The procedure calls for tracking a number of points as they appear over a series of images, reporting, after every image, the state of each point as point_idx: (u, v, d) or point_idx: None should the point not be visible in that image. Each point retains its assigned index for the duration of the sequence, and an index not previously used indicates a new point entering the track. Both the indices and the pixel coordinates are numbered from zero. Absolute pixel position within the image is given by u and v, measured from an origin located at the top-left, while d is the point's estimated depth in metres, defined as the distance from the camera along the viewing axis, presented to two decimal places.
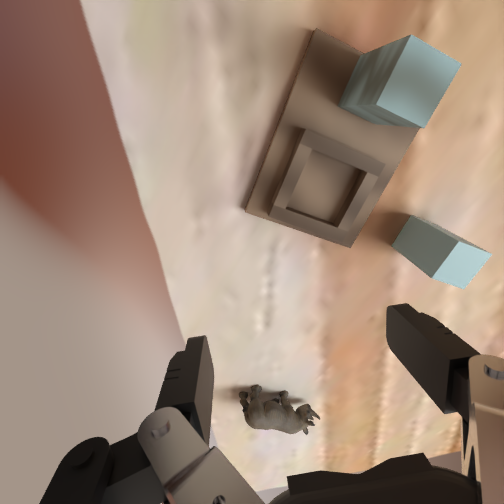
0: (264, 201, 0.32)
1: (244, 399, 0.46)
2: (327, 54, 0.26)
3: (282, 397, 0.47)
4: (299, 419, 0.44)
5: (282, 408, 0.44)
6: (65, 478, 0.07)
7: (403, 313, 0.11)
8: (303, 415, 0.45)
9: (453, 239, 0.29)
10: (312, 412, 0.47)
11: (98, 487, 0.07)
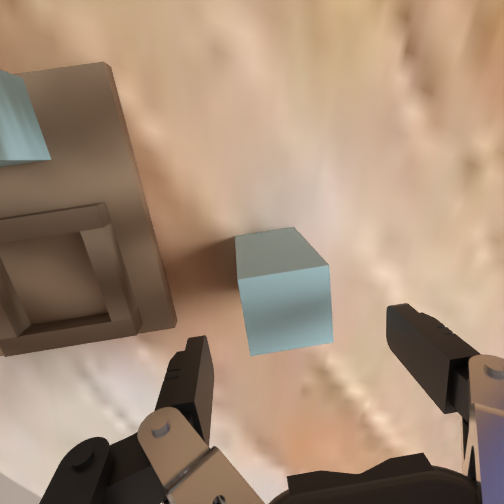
0: None
1: None
2: None
3: None
4: None
5: None
6: (65, 478, 0.07)
7: (403, 313, 0.11)
8: None
9: None
10: None
11: (98, 487, 0.07)
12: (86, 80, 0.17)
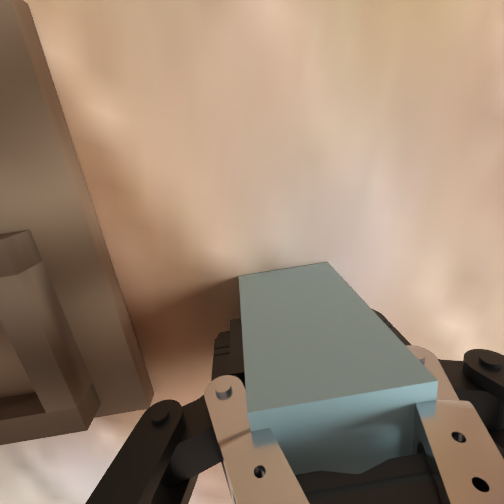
0: None
1: None
2: None
3: None
4: None
5: None
6: (145, 428, 0.08)
7: None
8: None
9: (246, 393, 0.07)
10: None
11: (168, 446, 0.07)
12: None
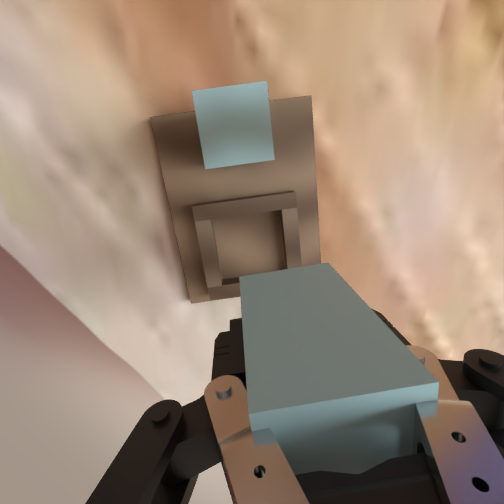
0: (202, 285, 0.29)
1: None
2: (174, 131, 0.25)
3: None
4: None
5: None
6: (145, 428, 0.08)
7: None
8: None
9: (247, 394, 0.07)
10: None
11: (168, 446, 0.07)
12: (297, 107, 0.25)
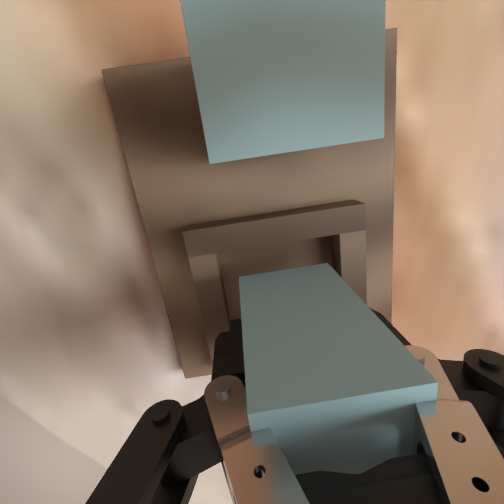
0: (203, 351, 0.18)
1: None
2: (147, 96, 0.14)
3: None
4: None
5: None
6: (145, 428, 0.08)
7: None
8: None
9: (247, 394, 0.07)
10: None
11: (168, 446, 0.07)
12: None
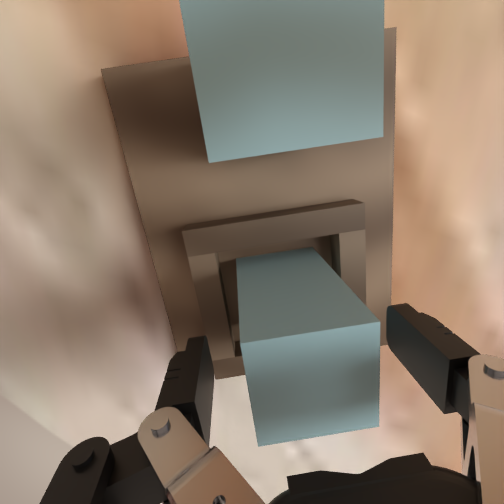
0: None
1: None
2: (147, 95, 0.14)
3: None
4: None
5: None
6: (65, 478, 0.07)
7: (403, 313, 0.11)
8: None
9: (240, 334, 0.10)
10: None
11: (98, 487, 0.07)
12: None
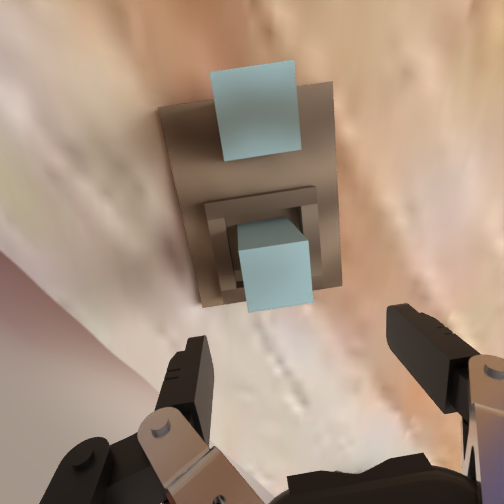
0: (215, 288, 0.27)
1: None
2: (184, 122, 0.23)
3: None
4: None
5: None
6: (65, 478, 0.07)
7: (403, 313, 0.11)
8: None
9: None
10: None
11: (98, 487, 0.07)
12: (317, 94, 0.23)
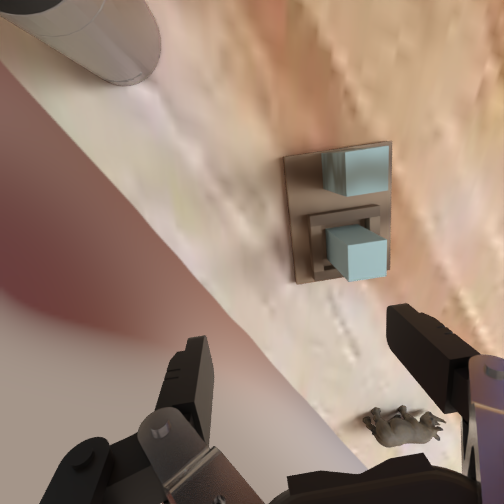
0: (306, 271, 0.41)
1: (369, 423, 0.51)
2: (299, 165, 0.36)
3: (402, 412, 0.51)
4: (426, 428, 0.48)
5: (406, 422, 0.49)
6: (65, 478, 0.07)
7: (403, 313, 0.11)
8: (428, 423, 0.49)
9: (345, 244, 0.32)
10: (436, 418, 0.51)
11: (98, 487, 0.07)
12: None
